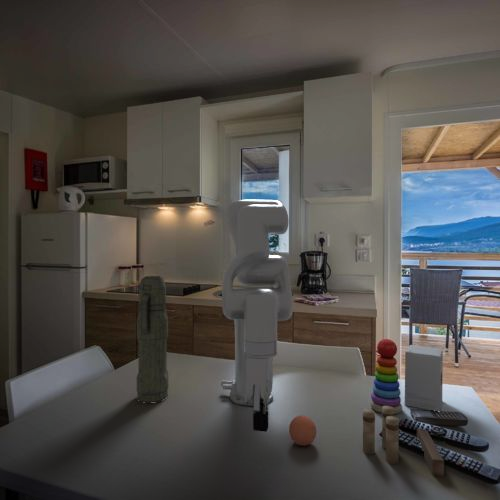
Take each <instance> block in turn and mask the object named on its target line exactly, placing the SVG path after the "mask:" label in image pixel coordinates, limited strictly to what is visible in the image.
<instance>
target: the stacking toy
mask: <svg viewBox="0 0 500 500" xmlns="http://www.w3.org/2000/svg"><path fill="white" fill-rule="evenodd" d="M376 346H377V347H376V349H377V352H378V355H379V356H377V358H376V362H377V363H376V365H375V370H376V371H375V372H374V380H373V384H374V385H373V387H372V393H371V395H370V398H371V400H370V407H371V408H372V410H373V411H375V412H378V413H381V414H382V407H383V406H391V407H393V408H394V415H396V414H400V413H401V411H402V410H403V406H402V404H401V403H402V400H401V390H400V386H401V385H400V382H399V379H400V378H399V377H400V376H399V374H398V373H397V372H398V367H397V366H396V365H397V364H398V361H397V359H396V358H395V356H396V355H397V352H398V346H397V344H396V343H395V342H394V341H393V340H391V339H389V338H383V339H381V340H379V342H378V343H377V345H376Z"/></svg>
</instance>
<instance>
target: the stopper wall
mask: <svg viewBox="0 0 500 500" xmlns="http://www.w3.org/2000/svg"><path fill="white" fill-rule="evenodd" d="M417 438H418V439H419V440H420V443H421V445H422V447H423V450H424V456H423V458H424V460H425V462H426V464H427V466H428V469H429V470H430V472H431V475H432V476H437V477H444V476H445V460H444V458H443V456H442V455H441V453H440V451H439V449H438V447H437V445H436V444H435V442H434V440H433V439H432V437H431V434H430V433H429V432H428V430H427V428H426V429H425V428H416V439H417Z"/></svg>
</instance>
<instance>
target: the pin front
mask: <svg viewBox="0 0 500 500" xmlns="http://www.w3.org/2000/svg"><path fill="white" fill-rule="evenodd" d="M375 422H376V411H375V410H374V409H370V408H364V409H363V410H362V452H363V453H365V454H367V455H373V454H375V450H376V449H375V447H376V444H375V436H376V435H375V434H376V433H375V432H376V431H375V430H376V427H375V425H376V423H375Z"/></svg>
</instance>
